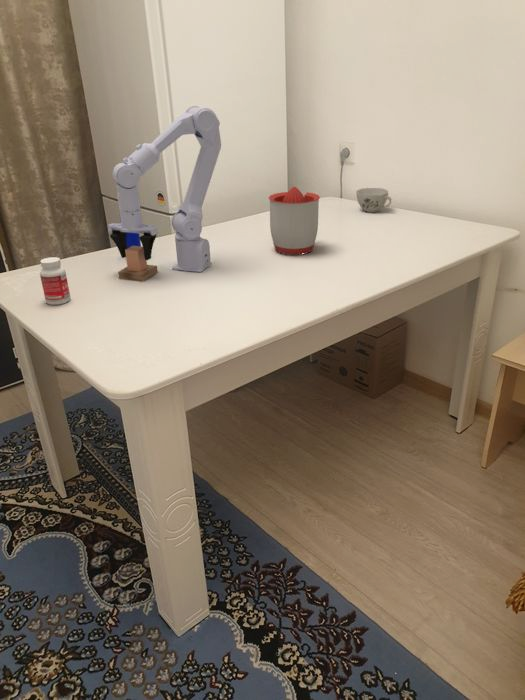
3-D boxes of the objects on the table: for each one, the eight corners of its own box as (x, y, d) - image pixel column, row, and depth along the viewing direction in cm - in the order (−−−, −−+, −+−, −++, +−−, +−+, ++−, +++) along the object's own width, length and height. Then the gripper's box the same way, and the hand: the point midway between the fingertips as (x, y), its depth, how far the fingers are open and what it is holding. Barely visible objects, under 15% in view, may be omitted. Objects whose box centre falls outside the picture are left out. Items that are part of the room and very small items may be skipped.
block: (147, 267, 159) (144, 246, 156) (140, 271, 155) (137, 251, 153) (135, 265, 160) (132, 245, 157) (127, 270, 157) (125, 249, 154)
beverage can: (138, 260, 170) (132, 212, 164) (122, 260, 171) (116, 211, 165) (144, 255, 175) (139, 208, 168) (129, 254, 176) (123, 207, 169)
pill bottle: (69, 304, 140) (61, 262, 135) (44, 306, 139) (35, 264, 134) (71, 295, 146) (64, 255, 141) (47, 297, 144) (38, 257, 139)
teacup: (348, 211, 221) (349, 191, 217) (366, 206, 229) (368, 186, 225) (380, 217, 211) (382, 196, 208) (398, 211, 219) (400, 191, 216)
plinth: (157, 272, 161) (157, 265, 160) (143, 281, 154) (142, 274, 153) (133, 269, 163) (133, 263, 162) (119, 278, 156) (118, 271, 155)
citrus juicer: (322, 242, 183) (323, 181, 174) (314, 259, 168) (316, 192, 159) (276, 240, 187) (275, 180, 177) (264, 256, 172) (263, 191, 162)
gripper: (98, 211, 149) (106, 260, 155) (145, 214, 144) (151, 264, 151) (113, 205, 155) (120, 252, 161) (159, 208, 150) (164, 256, 156)
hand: (136, 257), depth 156 cm, fingers open, 7 cm apart
